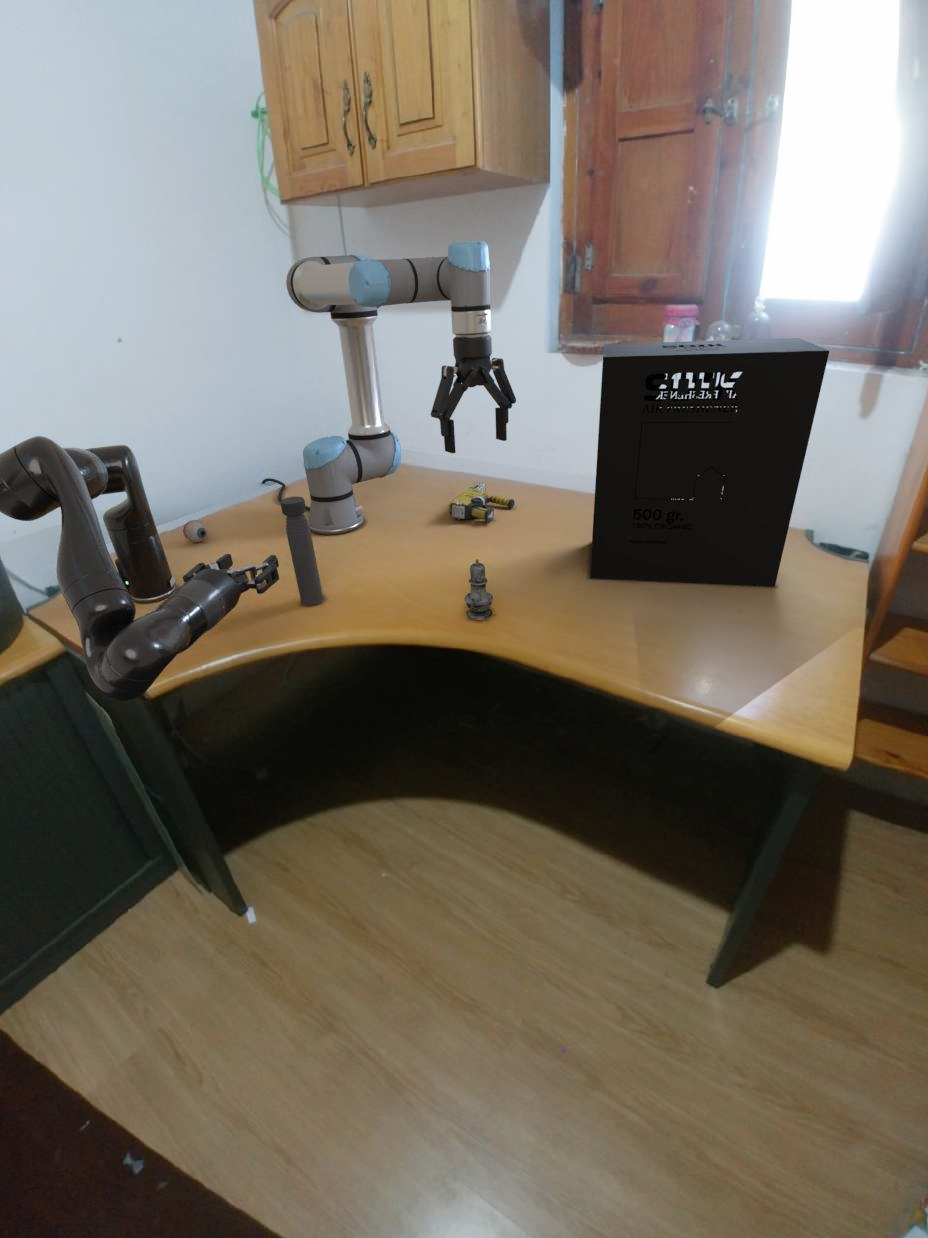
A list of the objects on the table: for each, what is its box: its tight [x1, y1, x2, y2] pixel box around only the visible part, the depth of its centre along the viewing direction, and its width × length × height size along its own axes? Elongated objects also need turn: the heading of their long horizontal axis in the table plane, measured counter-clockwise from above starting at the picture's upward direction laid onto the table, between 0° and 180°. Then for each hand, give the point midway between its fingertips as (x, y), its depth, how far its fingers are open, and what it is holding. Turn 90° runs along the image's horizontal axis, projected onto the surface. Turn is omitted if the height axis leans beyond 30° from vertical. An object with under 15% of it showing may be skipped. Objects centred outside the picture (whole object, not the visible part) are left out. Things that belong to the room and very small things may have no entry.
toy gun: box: [448, 481, 515, 523], centre depth 173 cm, size 5×24×15 cm
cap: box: [279, 495, 307, 517], centre depth 120 cm, size 5×5×2 cm
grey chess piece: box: [463, 559, 494, 621], centre depth 118 cm, size 6×6×12 cm
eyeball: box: [182, 519, 208, 544], centre depth 162 cm, size 6×6×6 cm
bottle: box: [285, 513, 324, 607], centre depth 125 cm, size 5×5×22 cm
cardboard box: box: [589, 337, 830, 587], centre depth 126 cm, size 38×20×45 cm, turn 78°
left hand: (252, 559), depth 105 cm, fingers open, 8 cm apart
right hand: (476, 445), depth 127 cm, fingers open, 13 cm apart
